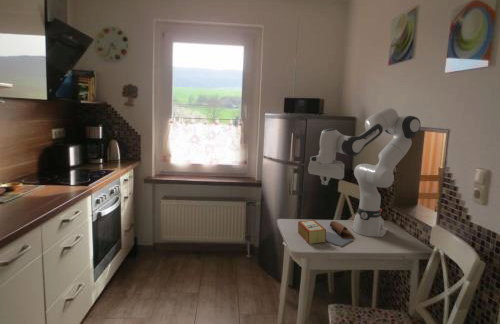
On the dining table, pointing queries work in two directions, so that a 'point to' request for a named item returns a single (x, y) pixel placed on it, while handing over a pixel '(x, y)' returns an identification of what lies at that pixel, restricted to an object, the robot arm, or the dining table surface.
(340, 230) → the sunglasses case
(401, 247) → the dining table surface
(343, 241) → the mat
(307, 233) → the baking soda box
